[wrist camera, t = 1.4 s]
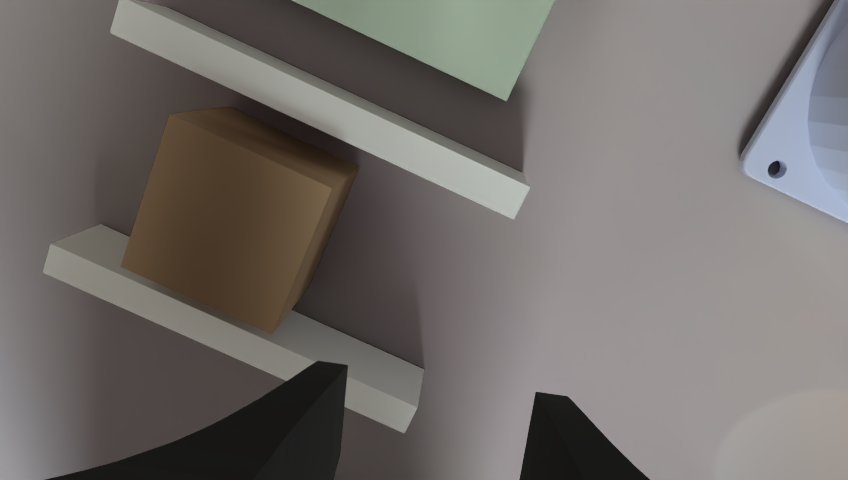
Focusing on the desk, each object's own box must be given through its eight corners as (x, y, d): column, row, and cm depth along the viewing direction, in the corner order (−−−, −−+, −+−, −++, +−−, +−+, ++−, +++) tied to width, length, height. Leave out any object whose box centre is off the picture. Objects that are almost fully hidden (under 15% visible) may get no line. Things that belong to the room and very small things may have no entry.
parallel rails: (523, 173, 19) (530, 187, 16) (412, 392, 21) (404, 433, 19) (166, 7, 18) (120, -4, 16) (93, 249, 21) (42, 272, 18)
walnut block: (360, 166, 19) (332, 188, 15) (309, 286, 20) (271, 334, 17) (230, 106, 19) (169, 113, 15) (187, 230, 20) (120, 267, 16)
